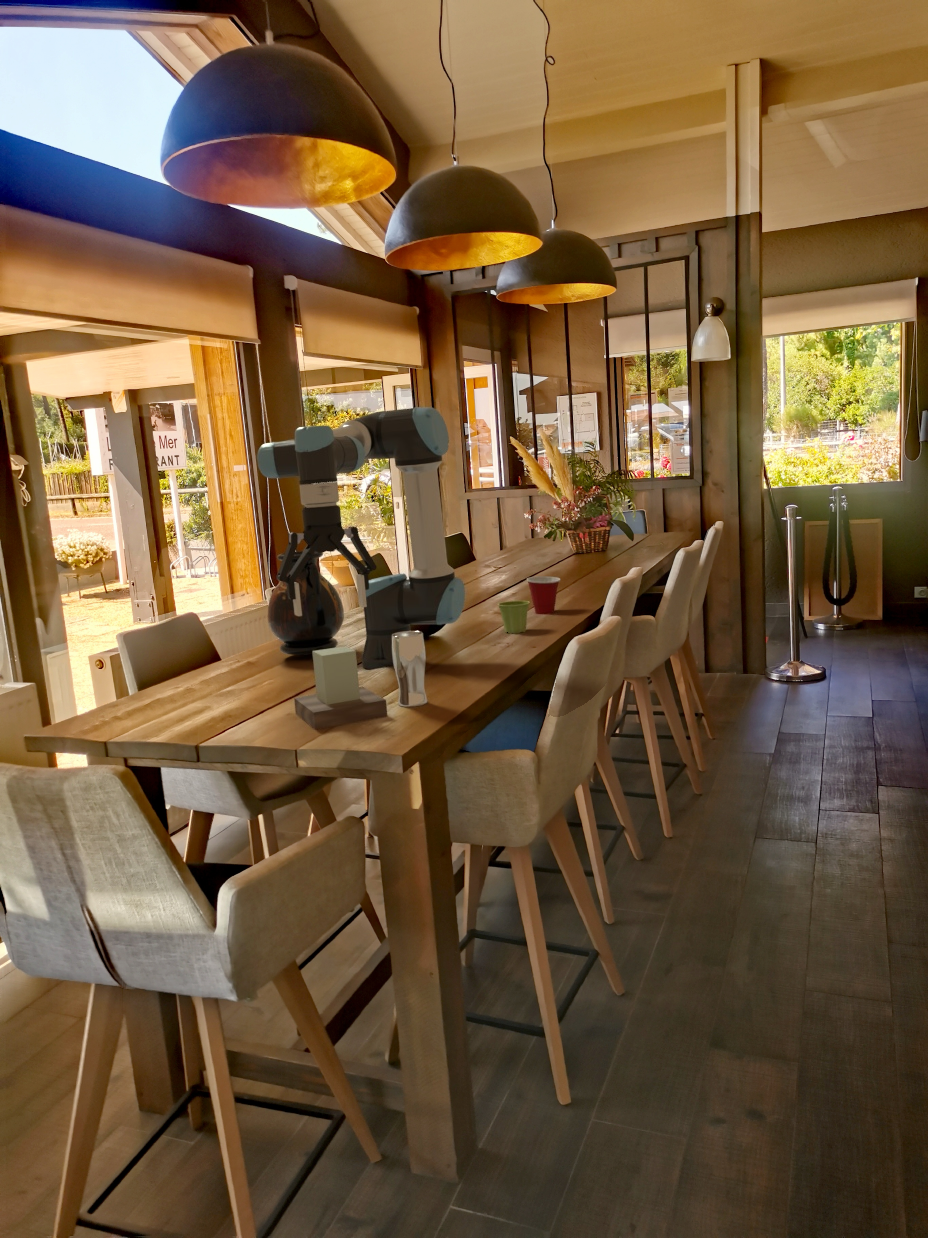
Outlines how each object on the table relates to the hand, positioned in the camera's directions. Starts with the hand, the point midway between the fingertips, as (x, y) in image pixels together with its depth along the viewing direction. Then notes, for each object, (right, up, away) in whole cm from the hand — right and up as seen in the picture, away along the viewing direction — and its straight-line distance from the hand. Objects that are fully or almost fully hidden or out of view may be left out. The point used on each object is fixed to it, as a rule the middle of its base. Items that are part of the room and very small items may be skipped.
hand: (331, 611), depth 188 cm
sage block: (+1, -18, +3) cm, 18 cm away
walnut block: (+2, -22, +3) cm, 22 cm away
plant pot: (+42, -6, +84) cm, 94 cm away
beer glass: (+16, -20, +9) cm, 27 cm away
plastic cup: (+53, 0, +111) cm, 123 cm away
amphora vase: (-17, -11, +79) cm, 81 cm away
